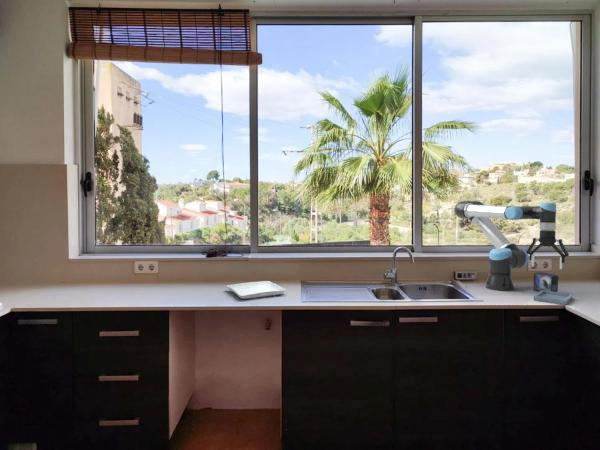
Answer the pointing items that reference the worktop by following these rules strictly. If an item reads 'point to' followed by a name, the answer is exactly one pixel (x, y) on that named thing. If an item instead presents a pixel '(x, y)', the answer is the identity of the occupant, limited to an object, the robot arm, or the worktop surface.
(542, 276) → the small box
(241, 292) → the square plate
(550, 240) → the robot arm
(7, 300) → the worktop surface
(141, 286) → the worktop surface
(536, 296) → the tray
